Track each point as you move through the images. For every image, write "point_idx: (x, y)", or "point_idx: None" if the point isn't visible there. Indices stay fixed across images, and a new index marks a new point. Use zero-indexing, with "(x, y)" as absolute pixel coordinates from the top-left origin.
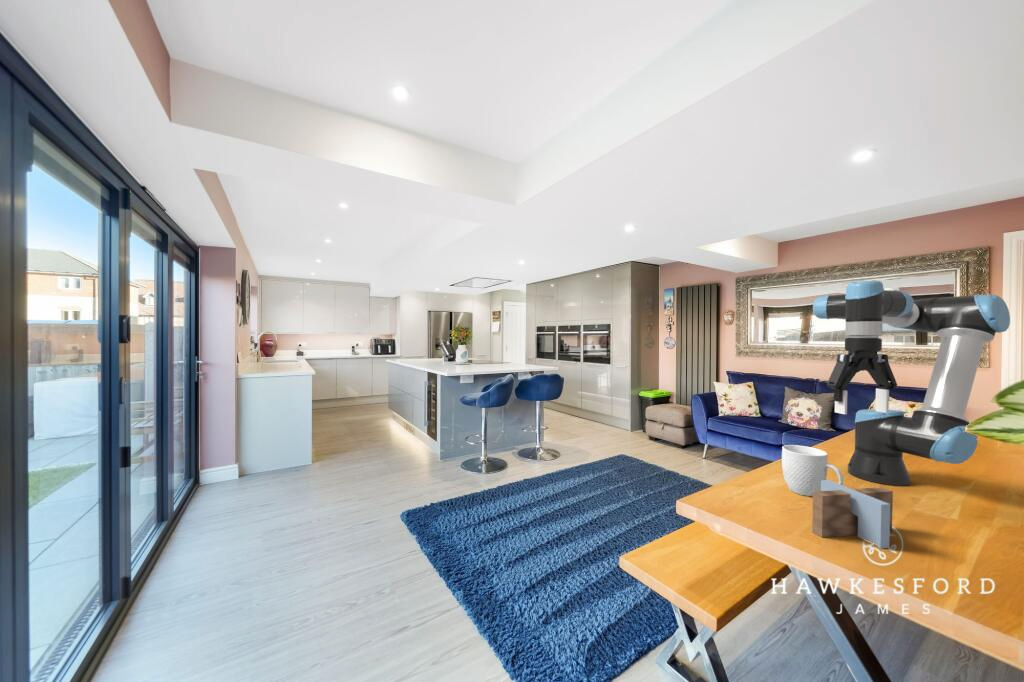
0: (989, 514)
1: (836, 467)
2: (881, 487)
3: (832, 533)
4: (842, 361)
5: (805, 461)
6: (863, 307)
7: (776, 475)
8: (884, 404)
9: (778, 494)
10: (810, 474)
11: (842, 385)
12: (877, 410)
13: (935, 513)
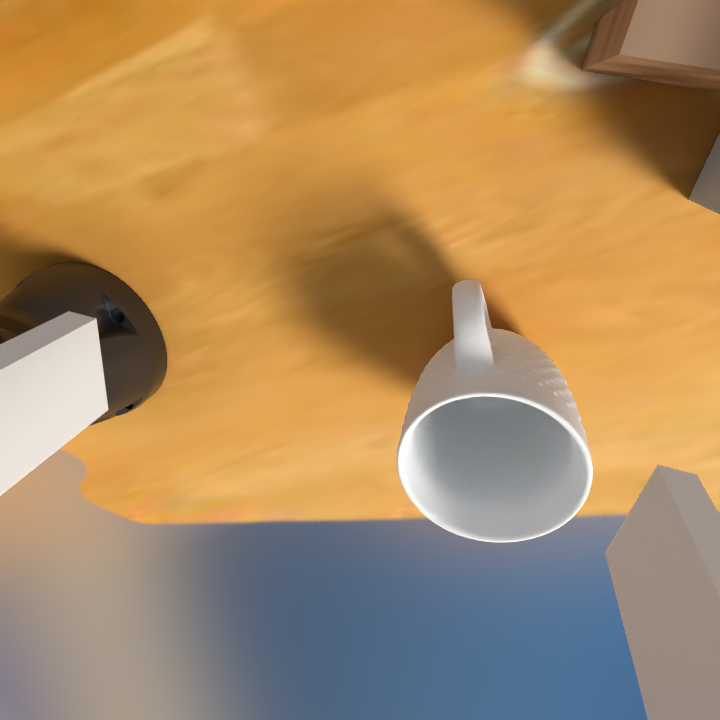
0: (45, 6)
1: (464, 330)
2: (625, 52)
3: None
4: None
5: (576, 415)
6: None
7: None
8: (19, 382)
9: (609, 391)
10: (553, 370)
11: None
12: (100, 398)
13: (227, 79)
